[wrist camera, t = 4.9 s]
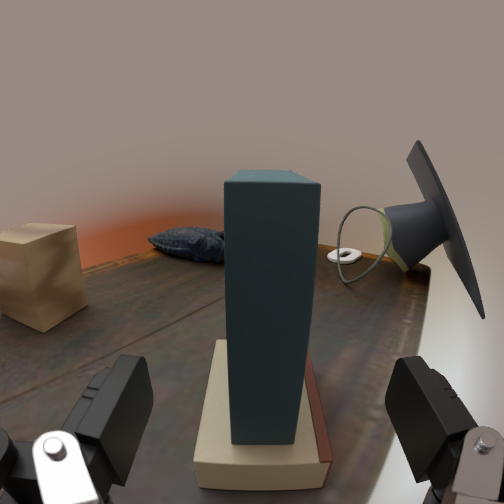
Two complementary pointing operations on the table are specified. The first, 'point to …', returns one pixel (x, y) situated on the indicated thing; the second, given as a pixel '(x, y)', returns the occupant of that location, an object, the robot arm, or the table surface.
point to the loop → (378, 257)
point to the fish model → (191, 243)
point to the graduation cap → (428, 226)
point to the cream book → (260, 456)
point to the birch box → (40, 274)
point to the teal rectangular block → (268, 299)
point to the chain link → (345, 260)
